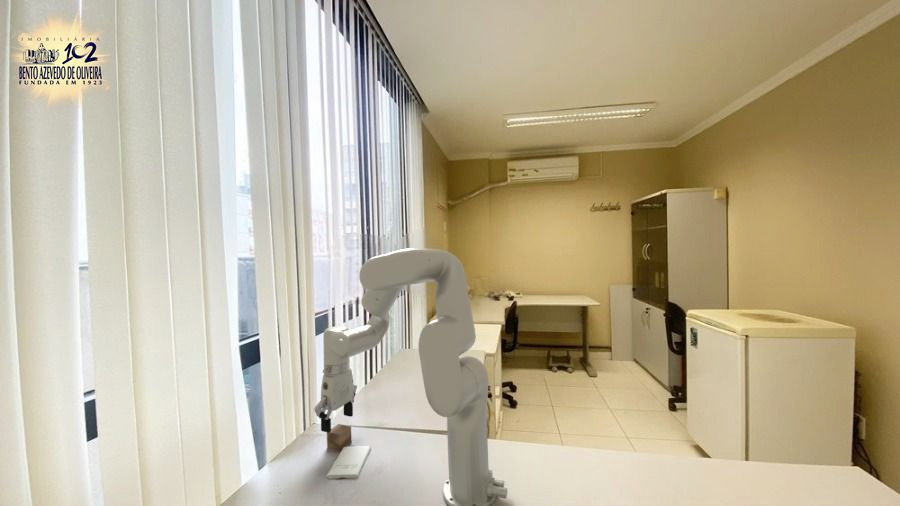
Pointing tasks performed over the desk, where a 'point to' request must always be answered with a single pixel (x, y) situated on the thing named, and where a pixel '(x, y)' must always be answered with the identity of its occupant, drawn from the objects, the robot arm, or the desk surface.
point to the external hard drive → (349, 462)
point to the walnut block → (339, 437)
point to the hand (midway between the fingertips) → (337, 423)
